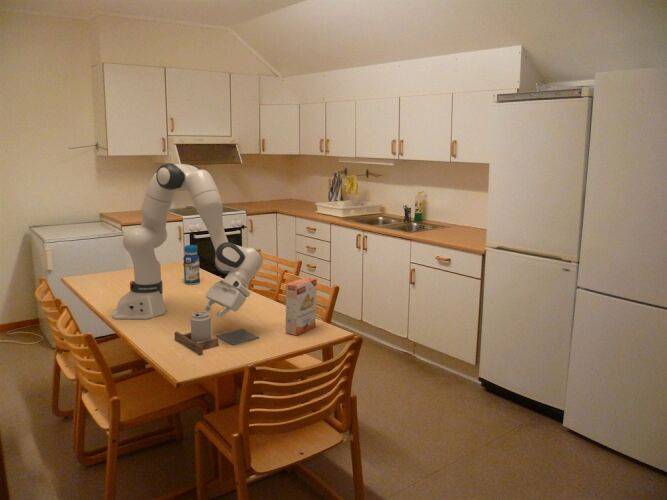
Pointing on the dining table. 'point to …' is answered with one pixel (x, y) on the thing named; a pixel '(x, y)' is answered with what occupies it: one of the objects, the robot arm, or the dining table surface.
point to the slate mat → (237, 336)
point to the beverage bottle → (191, 265)
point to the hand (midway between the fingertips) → (212, 313)
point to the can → (200, 326)
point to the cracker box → (300, 305)
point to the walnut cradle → (195, 346)
